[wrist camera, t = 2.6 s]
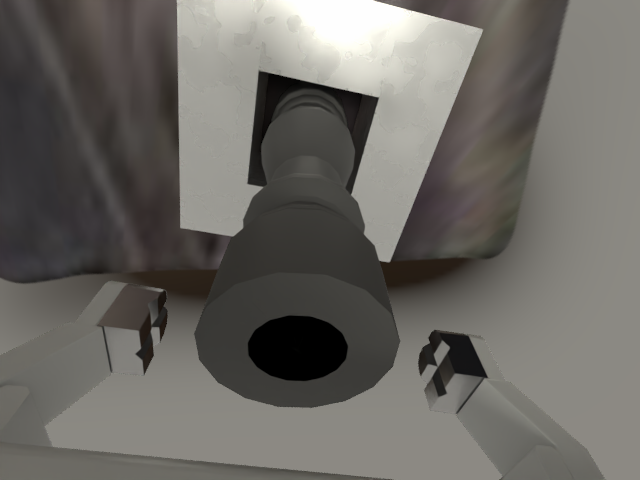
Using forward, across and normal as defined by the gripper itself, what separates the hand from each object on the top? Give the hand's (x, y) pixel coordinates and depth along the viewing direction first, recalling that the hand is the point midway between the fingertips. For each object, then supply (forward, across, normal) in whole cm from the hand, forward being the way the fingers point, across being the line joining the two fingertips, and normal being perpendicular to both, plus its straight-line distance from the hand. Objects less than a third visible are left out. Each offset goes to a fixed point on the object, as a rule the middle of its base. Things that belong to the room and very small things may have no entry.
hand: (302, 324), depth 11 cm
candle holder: (+24, 0, 0) cm, 24 cm away
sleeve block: (+24, 0, 0) cm, 24 cm away
